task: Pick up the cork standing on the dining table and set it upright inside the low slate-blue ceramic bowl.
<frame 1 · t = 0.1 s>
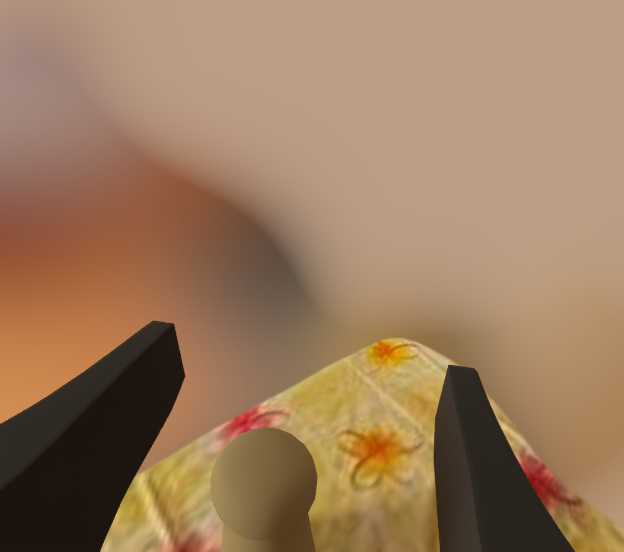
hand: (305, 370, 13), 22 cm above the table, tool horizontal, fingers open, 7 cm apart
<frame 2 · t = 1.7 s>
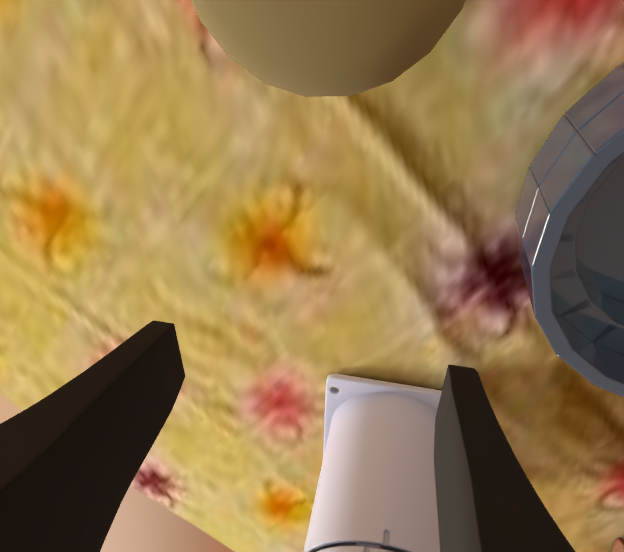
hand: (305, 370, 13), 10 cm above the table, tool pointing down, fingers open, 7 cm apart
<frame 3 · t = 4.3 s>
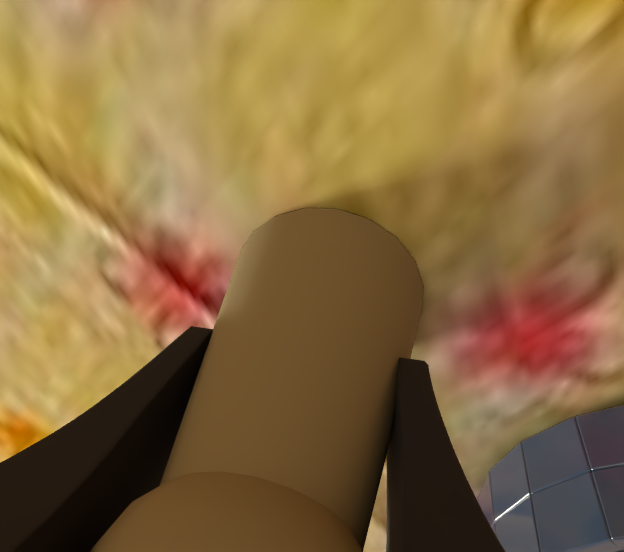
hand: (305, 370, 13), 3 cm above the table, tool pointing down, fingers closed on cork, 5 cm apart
cork: (327, 288, 15), on the table, touching gripper
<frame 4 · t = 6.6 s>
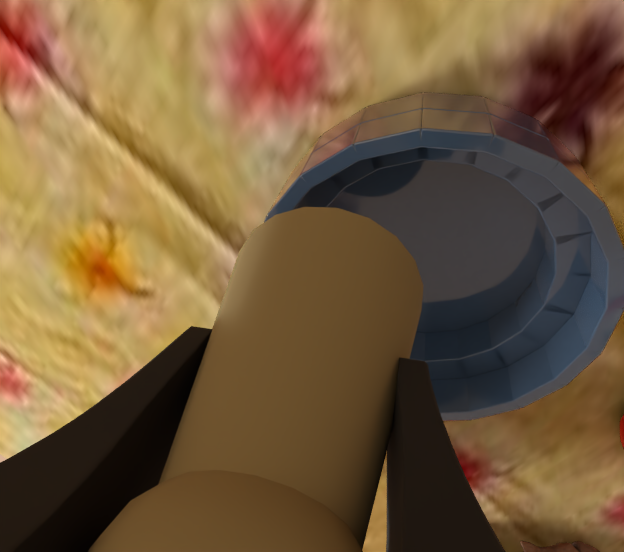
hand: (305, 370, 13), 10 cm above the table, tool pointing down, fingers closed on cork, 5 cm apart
cork: (327, 287, 15), point 7 cm above the table, touching gripper
bowl: (424, 243, 21), on the table
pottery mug: (515, 543, 34), on the table
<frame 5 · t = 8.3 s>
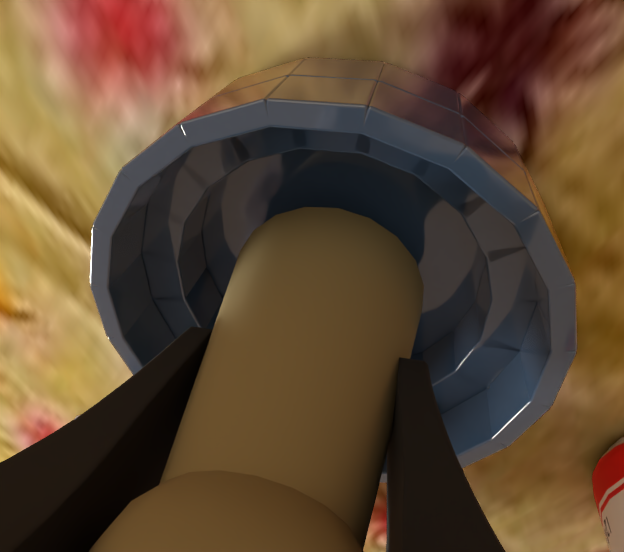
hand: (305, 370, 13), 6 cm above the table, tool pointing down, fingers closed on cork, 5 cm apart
cork: (327, 288, 15), point 2 cm above the table, touching gripper
bowl: (338, 256, 17), on the table
when the fingers open (4 cm above the table, at t = 9.3 s): cork stays where it is, resting on bowl.
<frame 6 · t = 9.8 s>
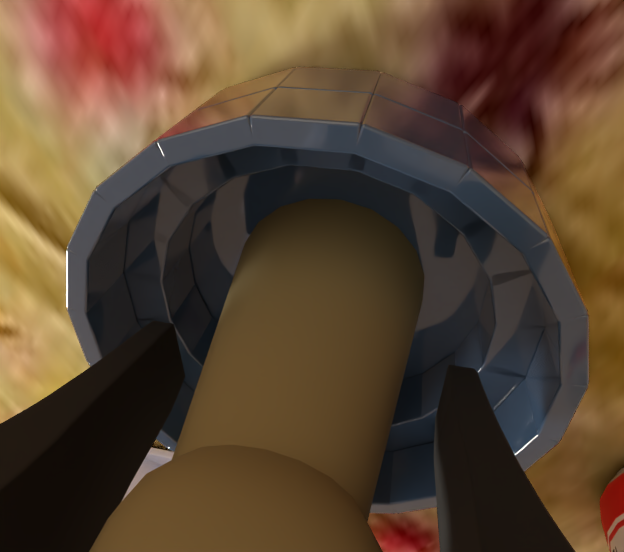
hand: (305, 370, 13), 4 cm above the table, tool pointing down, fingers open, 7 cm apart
cork: (330, 278, 16), resting on bowl
bowl: (333, 274, 16), on the table
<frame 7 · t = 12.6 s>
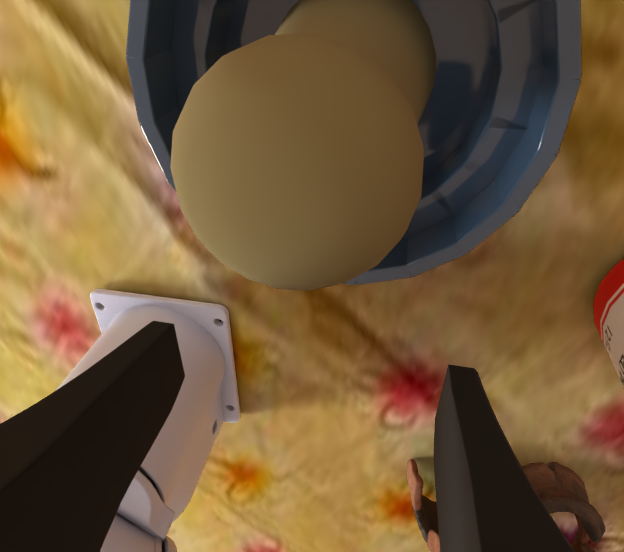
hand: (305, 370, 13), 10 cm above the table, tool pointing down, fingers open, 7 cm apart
cork: (352, 71, 18), resting on bowl
bowl: (353, 71, 18), on the table
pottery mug: (487, 480, 30), on the table
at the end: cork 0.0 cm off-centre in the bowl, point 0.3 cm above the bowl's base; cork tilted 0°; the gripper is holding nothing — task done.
